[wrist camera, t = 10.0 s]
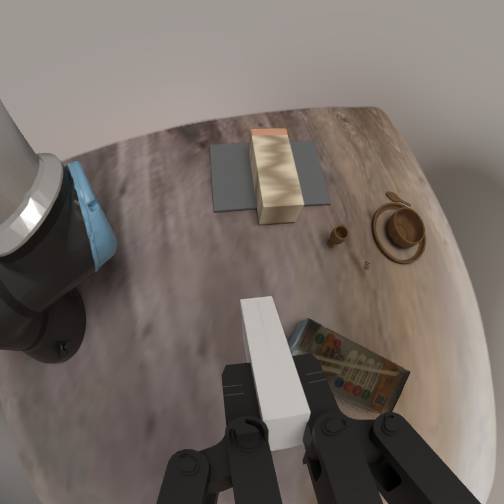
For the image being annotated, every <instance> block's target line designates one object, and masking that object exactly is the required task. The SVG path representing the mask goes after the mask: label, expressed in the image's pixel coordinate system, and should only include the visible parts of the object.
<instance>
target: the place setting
mask: <svg viewBox="0 0 504 504" xmlns="http://www.w3.org/2000/svg"><path fill="white" fill-rule="evenodd" d="M387 196H388V197H389V198H390V199H391V200H393V201H395V202H399V201H400V202H402V203H404V204H406V205H408V206H410V207H411V205H410V204H409V203H407V202H405V201H403V200H401V199H400V198H399V197H398V196H397V195H396V194H395V193H393V192H387ZM389 209H394V210H397V211H396V212H395V213H394V214H393V215H392V216H391V217H390V219H389V221H388V233H389V235H390V237H391V239H392V240H393V242H394V243H395V244H397V245H398V246H400V247H403V248H410V247H413V246H414V245H416V244H418V243H419V247H418V250H417V252H416V254H415V255H414V256H413V257H412V258H410V259H408V260H398V259H396V258H394V257H393V256H391V255H390V254H389V253H388V252H387V251H386V250H385V249H384V248H383V246H382V245H381V243H380V241H379V239H378V236H377V233H376V221H377V218H378V216H379V215H380V214H381V213H382V212H384V211H386V210H389ZM373 234H374V238H375V241H376V243H377V245H378V247H379V248H380V250H381V251H382V252H383V253H384V254H385V255H386V256H387V257H388V258H389V259H391V260H393V261H395V262H397V263H402V264H408V263H412V262H414V261H416V260H418V259H419V258H420V257H421V256H422V254H423V252H424V249H425V245H426V236H425V228H424V224H423V221H422V219H421V218H420V216H419V215H418V214H417V213H416V212H415V211H414V210H412V209H410V208H408V207H406V206H404V205H402V204H399V203H387V204H385V205H383V206H381V207H380V208H379V209H378V211H377V212H376V214H375V216H374V219H373ZM348 236H349V231H348V229H347V228H346V227H345V226H344V225H337V226H336V227H335V228H334V229H333V231H332V232H331V235H330V238H331V240H330V241H328V242H327V246H328V247H329V248H333V246H334V245H335V244H340V243H342V242H344V241H345V240H346V239H347V238H348ZM365 262H366V261H365ZM367 263H368V262H367ZM365 264H366V263H365ZM368 264H370V263H368ZM368 264H366V265H368ZM364 266H365V265H364ZM368 266H369V265H368ZM366 267H367V266H366ZM364 268H365V267H364ZM367 268H369V267H367ZM367 268H365V269H367ZM367 270H369V269H367Z"/></svg>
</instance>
